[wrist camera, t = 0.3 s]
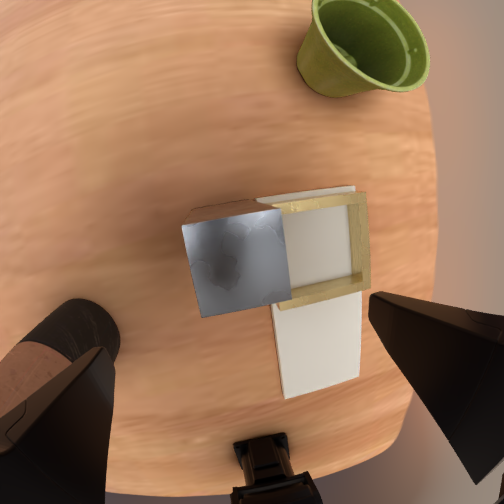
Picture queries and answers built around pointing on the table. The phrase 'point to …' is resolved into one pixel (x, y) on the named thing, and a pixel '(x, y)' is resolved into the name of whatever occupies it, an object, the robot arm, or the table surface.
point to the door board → (321, 313)
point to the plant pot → (362, 48)
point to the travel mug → (55, 349)
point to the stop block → (237, 256)
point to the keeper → (357, 246)
